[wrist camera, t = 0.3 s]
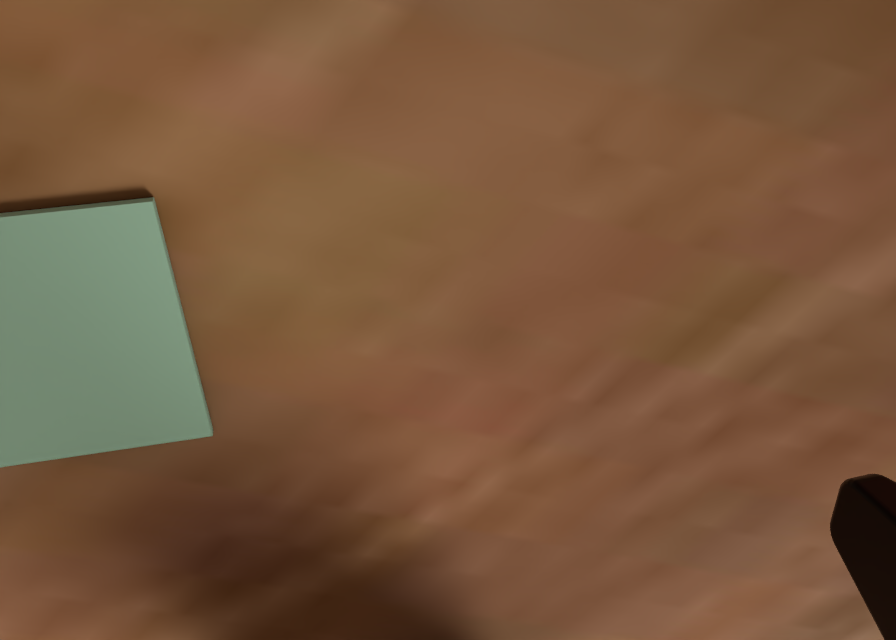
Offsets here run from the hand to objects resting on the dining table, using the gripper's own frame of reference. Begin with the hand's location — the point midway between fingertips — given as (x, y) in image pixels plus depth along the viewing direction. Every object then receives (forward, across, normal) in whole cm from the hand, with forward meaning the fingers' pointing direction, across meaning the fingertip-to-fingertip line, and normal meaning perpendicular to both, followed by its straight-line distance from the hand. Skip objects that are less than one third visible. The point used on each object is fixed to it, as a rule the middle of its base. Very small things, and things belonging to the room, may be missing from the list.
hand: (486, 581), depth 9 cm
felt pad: (+14, +10, +4) cm, 18 cm away
